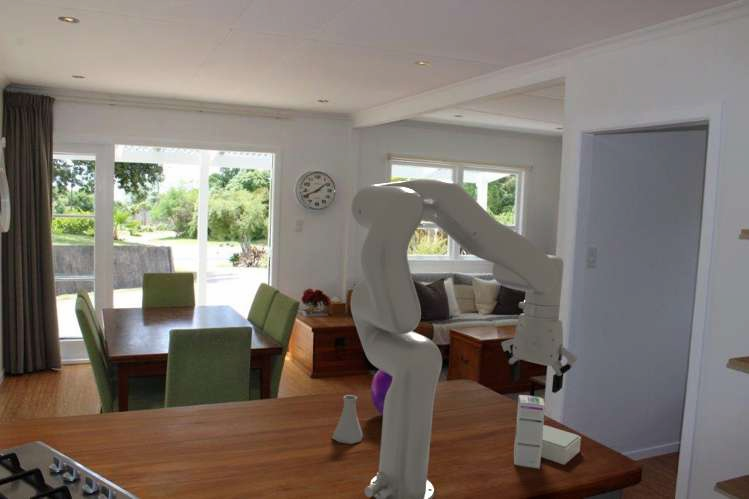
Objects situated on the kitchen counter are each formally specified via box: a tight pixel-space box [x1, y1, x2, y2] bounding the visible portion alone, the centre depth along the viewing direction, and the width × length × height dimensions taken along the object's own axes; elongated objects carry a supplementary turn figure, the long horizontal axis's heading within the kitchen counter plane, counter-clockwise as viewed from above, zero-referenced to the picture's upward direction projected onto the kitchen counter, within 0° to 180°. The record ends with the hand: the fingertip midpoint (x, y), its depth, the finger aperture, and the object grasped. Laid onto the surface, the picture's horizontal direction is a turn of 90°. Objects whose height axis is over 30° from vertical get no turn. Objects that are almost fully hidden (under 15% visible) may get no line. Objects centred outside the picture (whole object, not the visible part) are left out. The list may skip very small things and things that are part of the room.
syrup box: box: [513, 394, 546, 469], centre depth 137 cm, size 6×6×14 cm
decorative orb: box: [370, 369, 393, 416], centre depth 157 cm, size 15×15×15 cm
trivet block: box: [541, 424, 582, 466], centre depth 144 cm, size 10×10×4 cm
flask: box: [331, 394, 364, 445], centre depth 143 cm, size 7×7×10 cm
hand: (535, 385), depth 136 cm, fingers open, 9 cm apart
